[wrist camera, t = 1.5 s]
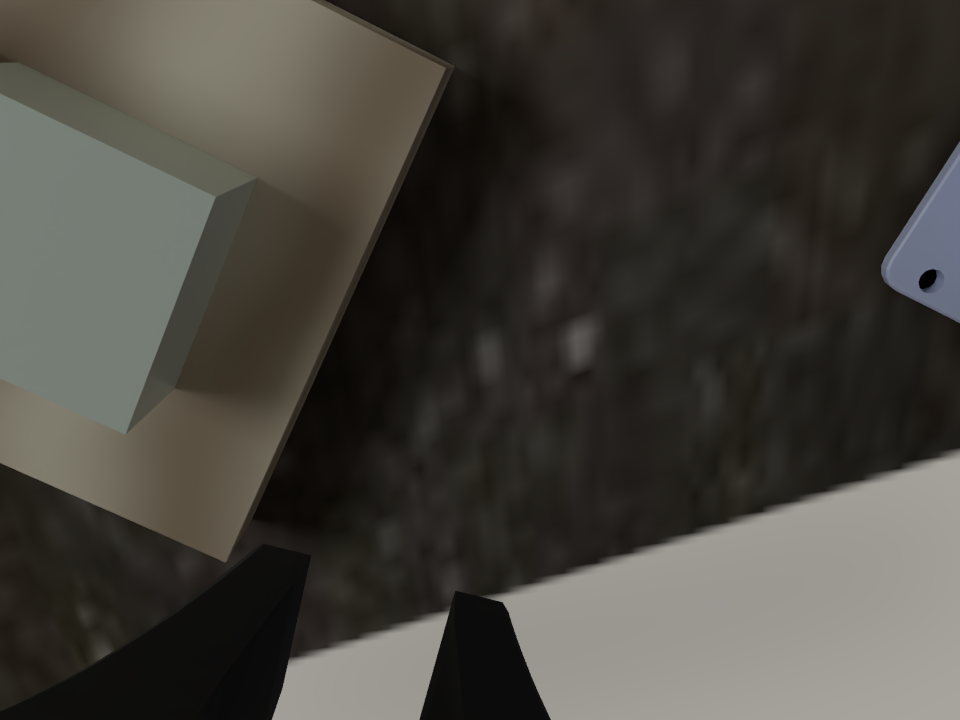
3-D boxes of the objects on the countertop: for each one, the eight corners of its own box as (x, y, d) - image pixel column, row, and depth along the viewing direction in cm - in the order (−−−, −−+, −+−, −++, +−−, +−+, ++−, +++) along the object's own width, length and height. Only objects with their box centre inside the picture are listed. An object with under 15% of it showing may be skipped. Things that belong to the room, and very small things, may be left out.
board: (455, 66, 19) (446, 67, 17) (251, 520, 23) (225, 562, 21) (-191, -261, 18) (-277, -297, 16) (-295, 276, 22) (-374, 297, 20)
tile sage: (257, 177, 18) (215, 196, 16) (174, 388, 20) (125, 434, 17) (19, 62, 18) (-61, 64, 15) (-47, 287, 19) (-128, 320, 17)
